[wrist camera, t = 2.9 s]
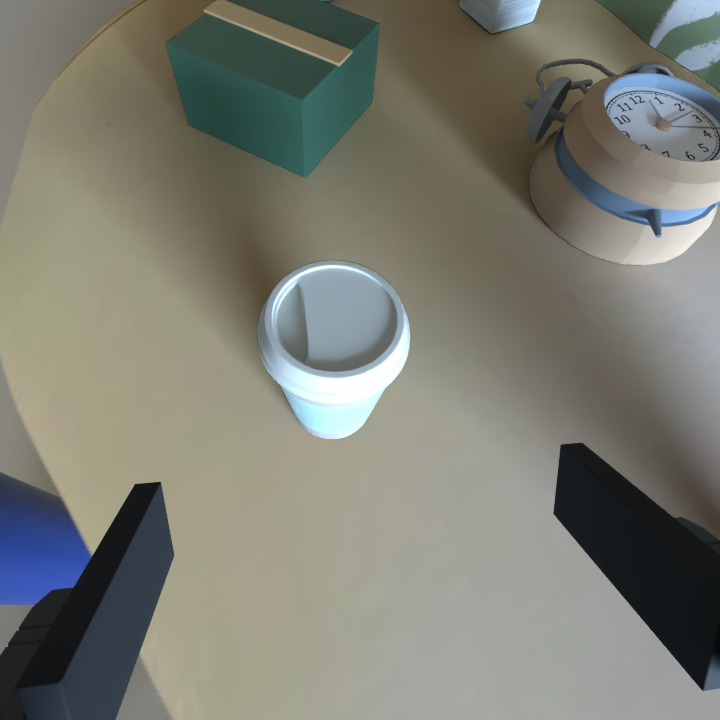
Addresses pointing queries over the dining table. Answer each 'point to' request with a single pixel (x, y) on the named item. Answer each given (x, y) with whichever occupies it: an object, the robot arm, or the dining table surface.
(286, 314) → the coffee cup
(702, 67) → the green gift bag
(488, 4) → the white packaging box
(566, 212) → the alarm clock
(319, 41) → the green parcel box
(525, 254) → the dining table surface
